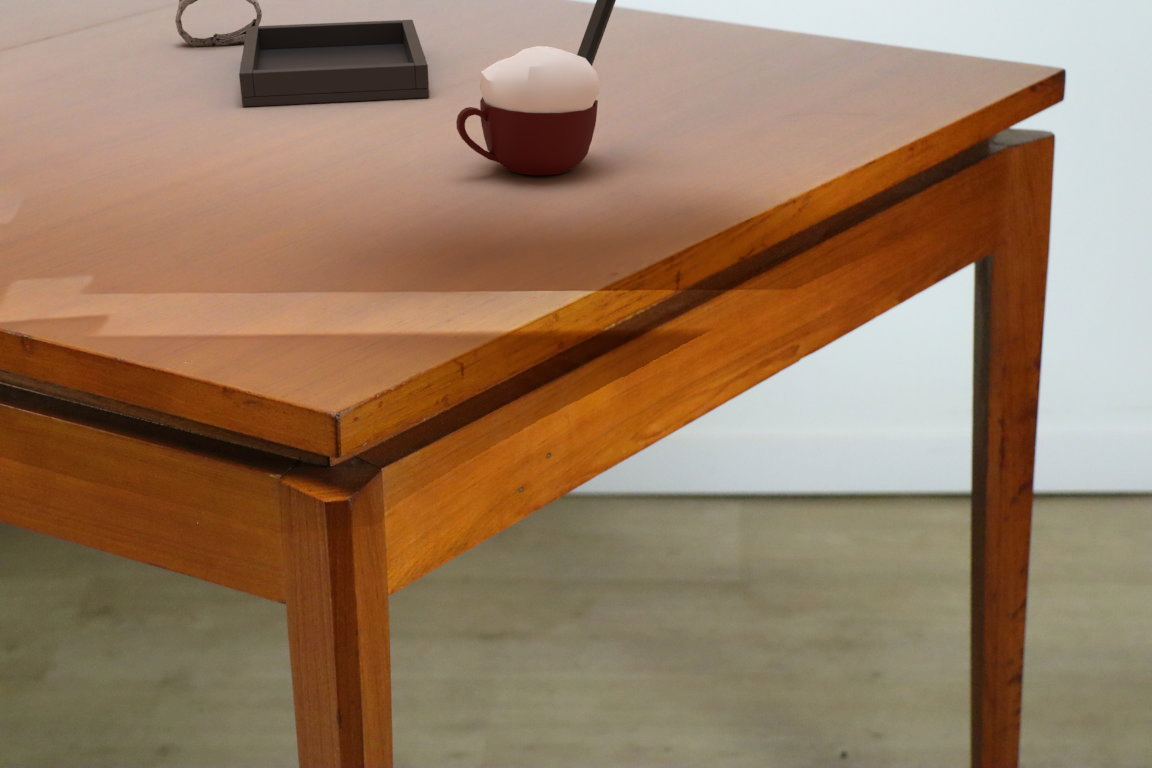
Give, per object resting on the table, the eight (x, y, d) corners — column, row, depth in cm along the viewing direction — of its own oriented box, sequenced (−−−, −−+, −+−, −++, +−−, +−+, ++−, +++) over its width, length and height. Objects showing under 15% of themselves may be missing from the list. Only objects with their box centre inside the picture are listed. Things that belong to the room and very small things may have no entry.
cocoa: (456, 185, 79) (446, -52, 74) (465, 152, 84) (456, -71, 79) (639, 184, 79) (641, -54, 74) (635, 151, 84) (637, -72, 79)
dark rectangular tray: (242, 107, 94) (238, 73, 93) (250, 56, 107) (247, 26, 106) (429, 97, 96) (427, 64, 95) (414, 48, 109) (412, 19, 108)
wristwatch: (179, 40, 112) (171, -29, 110) (264, 36, 113) (258, -32, 111) (176, 50, 109) (167, -20, 107) (263, 46, 110) (257, -24, 108)
